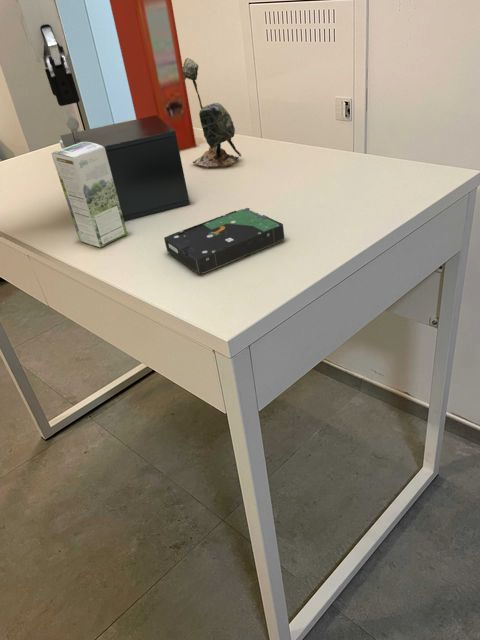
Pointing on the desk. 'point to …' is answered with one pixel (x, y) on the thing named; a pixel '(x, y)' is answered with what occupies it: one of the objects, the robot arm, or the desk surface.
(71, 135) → the bin lid
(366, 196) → the desk surface
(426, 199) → the desk surface
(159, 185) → the bin
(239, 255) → the disk drive
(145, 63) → the file binder
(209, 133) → the plant with pod
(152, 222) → the desk surface
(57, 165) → the syrup box
